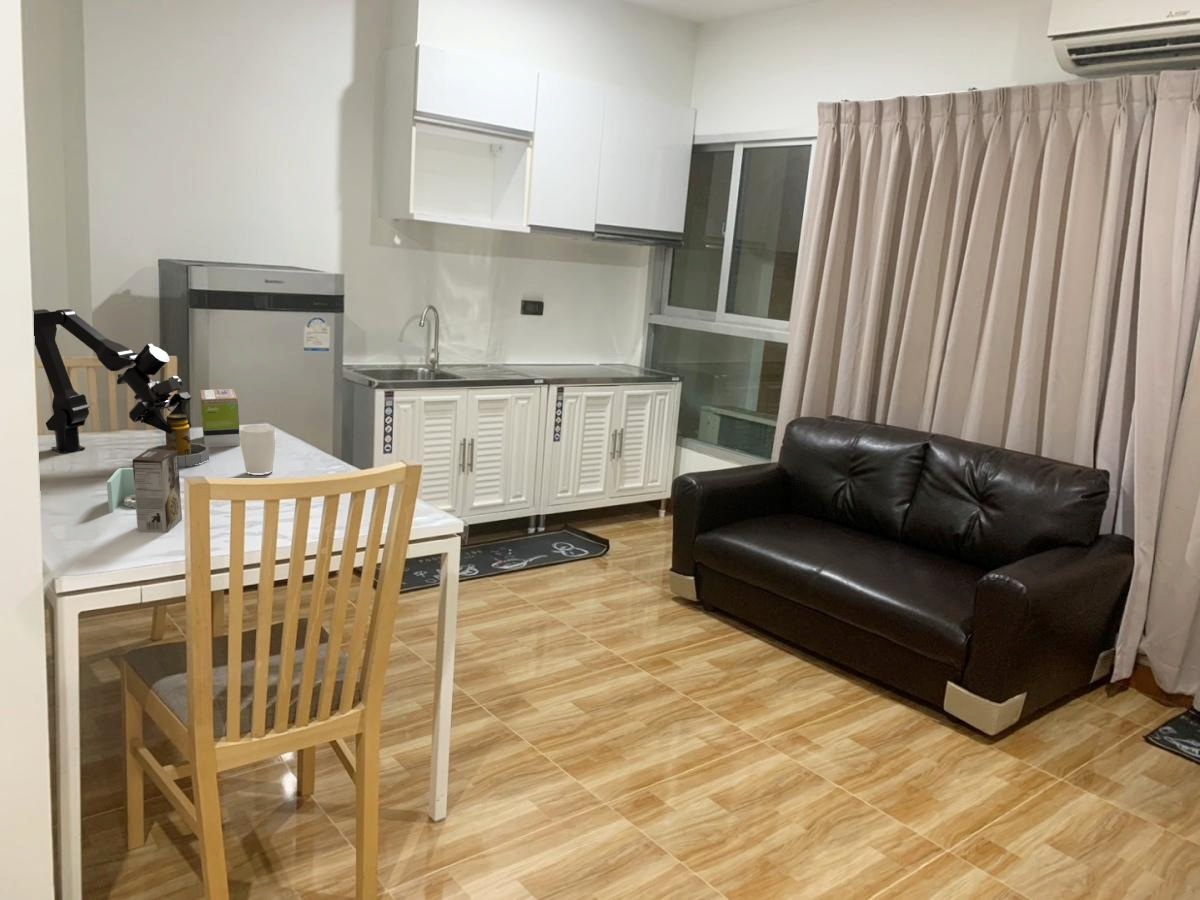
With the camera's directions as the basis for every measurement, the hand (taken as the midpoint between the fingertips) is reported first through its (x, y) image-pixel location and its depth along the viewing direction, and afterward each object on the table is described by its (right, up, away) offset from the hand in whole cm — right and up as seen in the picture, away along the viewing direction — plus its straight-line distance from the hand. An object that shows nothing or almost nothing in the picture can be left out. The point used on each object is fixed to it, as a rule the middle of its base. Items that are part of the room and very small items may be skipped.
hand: (181, 430), depth 249 cm
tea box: (0, -3, +25) cm, 26 cm away
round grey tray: (-2, -8, +2) cm, 9 cm away
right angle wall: (+7, -19, -35) cm, 40 cm away
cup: (+23, -12, -5) cm, 27 cm away
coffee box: (+18, -22, -50) cm, 57 cm away
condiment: (-2, -8, +2) cm, 8 cm away
